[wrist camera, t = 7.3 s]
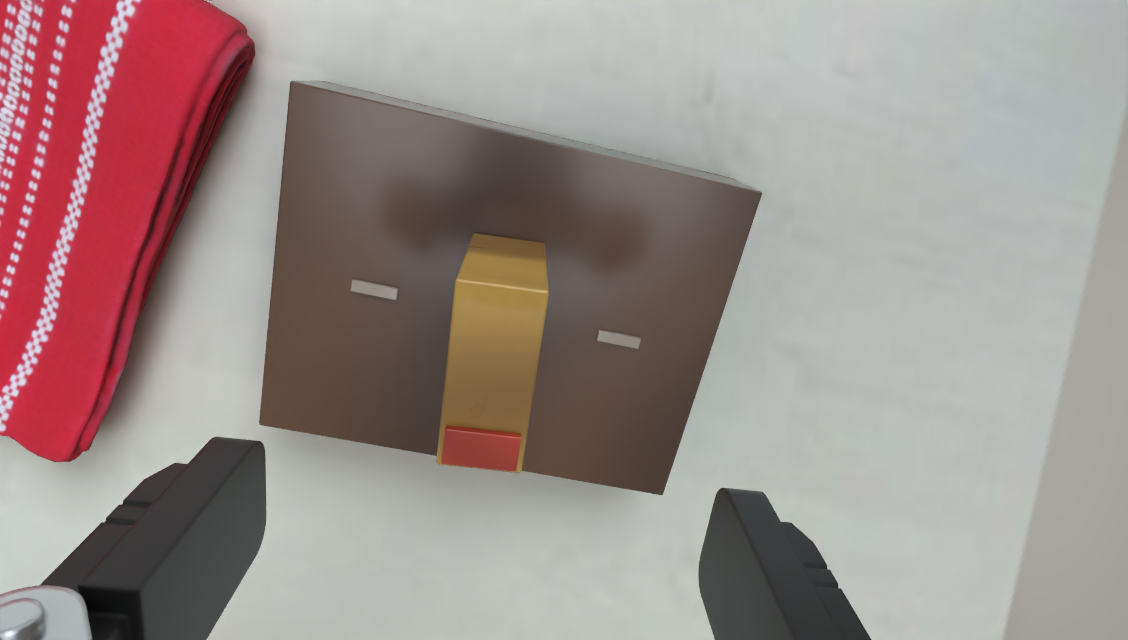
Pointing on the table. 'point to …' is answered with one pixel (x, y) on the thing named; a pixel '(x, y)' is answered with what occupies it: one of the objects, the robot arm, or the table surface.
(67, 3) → the dish towel
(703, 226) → the lock plate
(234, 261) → the table surface
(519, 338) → the yellow milk carton
